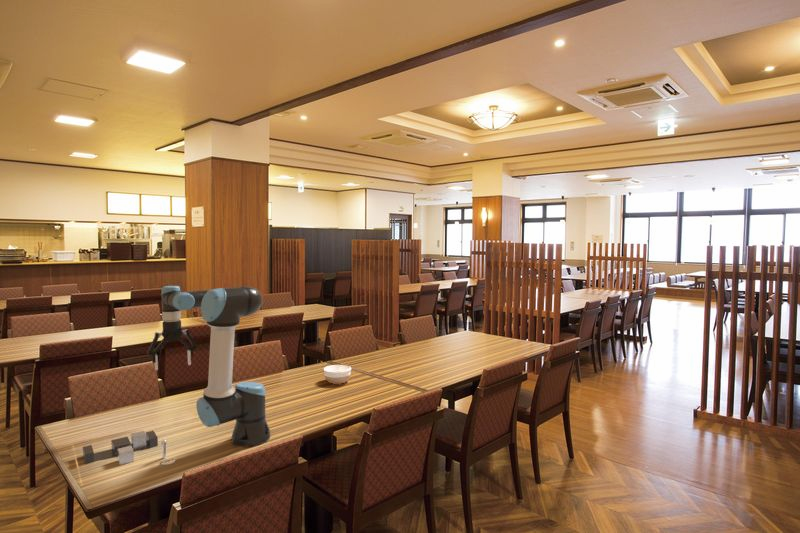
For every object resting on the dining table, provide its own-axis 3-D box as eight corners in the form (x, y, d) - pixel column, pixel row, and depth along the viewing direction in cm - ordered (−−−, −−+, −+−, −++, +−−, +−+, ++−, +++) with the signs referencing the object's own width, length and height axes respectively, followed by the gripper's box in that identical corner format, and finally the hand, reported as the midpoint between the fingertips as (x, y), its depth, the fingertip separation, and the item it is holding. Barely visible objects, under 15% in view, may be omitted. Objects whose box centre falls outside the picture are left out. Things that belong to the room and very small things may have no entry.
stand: (164, 466, 168) (154, 459, 174) (177, 461, 172) (168, 455, 177) (163, 446, 168) (154, 440, 173) (177, 441, 172) (167, 435, 177)
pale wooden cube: (133, 462, 171) (133, 449, 171) (119, 466, 169) (119, 453, 168) (131, 458, 175) (131, 445, 175) (117, 461, 172) (117, 448, 172)
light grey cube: (146, 446, 183) (145, 434, 183) (133, 450, 180) (132, 437, 180) (144, 442, 187) (143, 430, 186) (131, 445, 184) (131, 433, 184)
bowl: (356, 382, 267) (356, 369, 266) (331, 387, 258) (331, 373, 257) (343, 376, 280) (343, 363, 280) (319, 380, 271) (319, 367, 271)
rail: (157, 446, 184) (157, 437, 184) (85, 465, 169) (84, 454, 169) (153, 440, 190) (153, 430, 190) (83, 457, 175) (82, 446, 175)
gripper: (199, 316, 218) (200, 360, 220) (138, 322, 203) (140, 369, 205) (203, 318, 212) (204, 364, 214) (141, 324, 197) (143, 373, 199)
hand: (173, 367), depth 209 cm, fingers open, 13 cm apart
